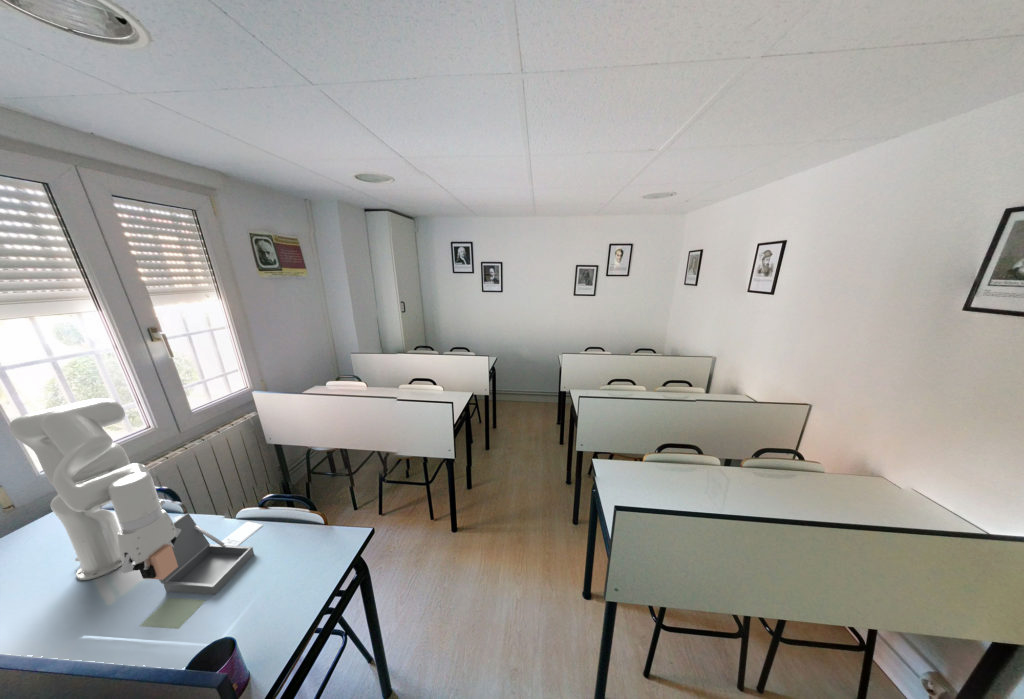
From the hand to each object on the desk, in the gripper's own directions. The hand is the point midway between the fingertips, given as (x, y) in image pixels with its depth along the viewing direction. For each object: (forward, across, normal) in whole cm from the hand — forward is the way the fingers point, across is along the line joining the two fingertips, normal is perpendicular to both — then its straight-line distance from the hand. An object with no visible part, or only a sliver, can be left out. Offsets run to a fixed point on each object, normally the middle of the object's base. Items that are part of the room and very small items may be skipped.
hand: (159, 568), depth 89 cm
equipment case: (+17, -13, -4) cm, 22 cm away
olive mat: (+18, 0, 0) cm, 18 cm away
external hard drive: (+18, -28, -5) cm, 34 cm away
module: (+1, 0, 0) cm, 1 cm away
